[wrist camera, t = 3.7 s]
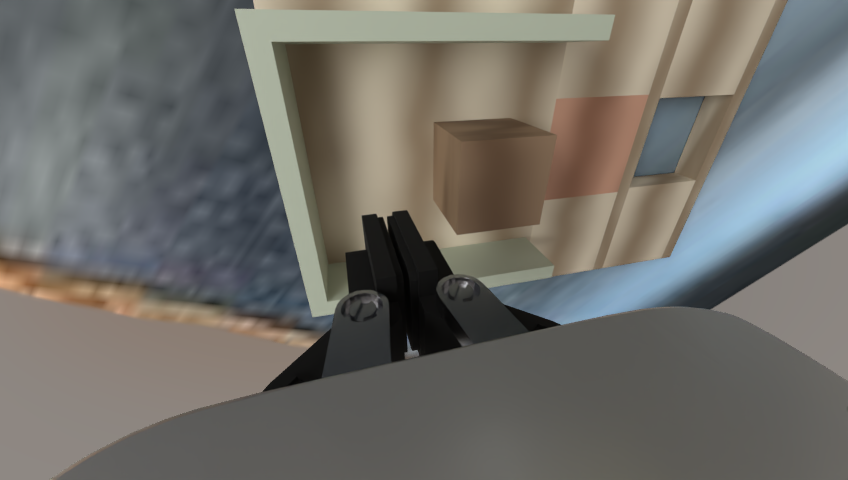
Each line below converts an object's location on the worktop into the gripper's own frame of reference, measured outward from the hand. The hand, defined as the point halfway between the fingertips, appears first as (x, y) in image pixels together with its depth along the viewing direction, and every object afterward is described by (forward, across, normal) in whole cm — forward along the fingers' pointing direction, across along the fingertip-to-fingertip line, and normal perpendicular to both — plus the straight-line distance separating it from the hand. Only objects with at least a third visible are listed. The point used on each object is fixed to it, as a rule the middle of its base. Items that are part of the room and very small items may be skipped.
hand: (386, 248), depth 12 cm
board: (+11, -12, 0) cm, 16 cm away
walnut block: (+9, -7, 0) cm, 11 cm away
